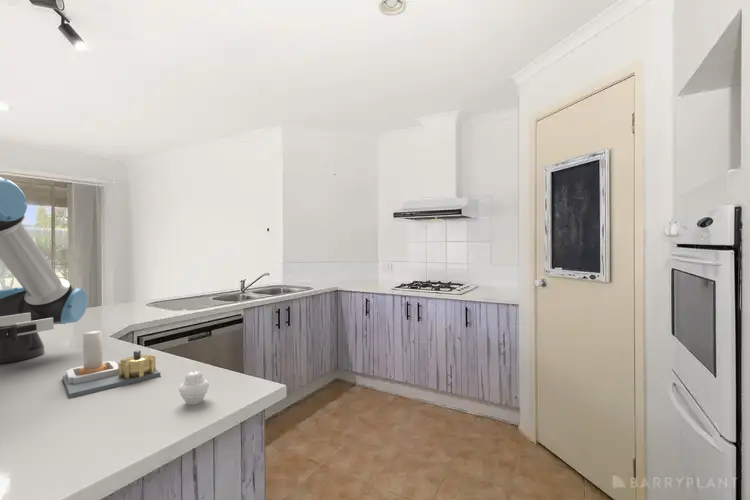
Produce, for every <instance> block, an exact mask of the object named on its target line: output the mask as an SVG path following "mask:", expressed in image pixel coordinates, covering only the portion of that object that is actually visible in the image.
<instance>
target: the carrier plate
mask: <svg viewBox="0 0 750 500" xmlns="http://www.w3.org/2000/svg"><path fill="white" fill-rule="evenodd" d="M102 364H105V365H106V366H107V370H104V371H100V372H95V373H90V374H85V375H81V376H79V369H80V368H83V367H84V365H81V366H77V367H72V368H71V367H70V368H68V370H65V374H63V375H62V382H63V383H64V386H65V388H66V391H67V394H68V397H69V398H70V399H71V398H75V397H79V396H83V395H87V394H92V393H97V392H99V391H104V390H107V389H109V390H110V389H113V388H116V387H120V386H125V385H129V384H132V383H138V382H142V381H145V380H149V379H153V378H154V379H155V378H158V377H161V371H159V370H158V369H157V368H156V369H155V370H154V372H153V373H151V374H148V375H145V376H142V377H137V378H129V379H125V378H121V377H120V378H119V370H118V363H117V362H116V360H113V361H112V360H107V361H102Z"/></svg>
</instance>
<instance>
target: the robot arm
mask: <svg viewBox="0 0 750 500" xmlns="http://www.w3.org/2000/svg"><path fill="white" fill-rule="evenodd" d="M26 202H27V198H26V196H25V194H24V192H23V191H22V189H21V188H20V187H19V186H18V185H17V184H16V183H14V182H13V181H12V180H10V179H7V178H5V177H1V176H0V260H1V262H2V263H3V264H4V266H6V268H7V269H8V270H9V272H10V273H11V274H12V276H13V277H14V278H15V280H17V282H18V283H19V285H20V287H15V288H8V289H6V288H5V289H0V365H1V364H6V363H15V362H19V361H24V360H29V359H32V358H37V357H39V356H41V355H43V354H44V353H45V345H44V342H43V340H42V339H41V337H40V335H39V333H40V332H41V333H42V332H44V331H45V332H46V331H51V330H55V328H54V325H66V324H73V323H76V322H78V321H80V320H81V319H82V318H83V317H84V315H85V313H86V311H87V308H88V302H89V301H88V300H89V299H88V294H87V292H86V290H85V289H83V288H79V287H77V288H73V287H72V285H71V284H70V282H69V281H68V279H67V280H66V279H65V278H59V276H58V275H57V273H56V272H55V270H54V269H53V267H52V266H51V265H50V263H49V261H48V260H47V258H46V257H45V255H44V254H43V253H42V251H41V250H40V248H39V246H38V244H37V243H36V242H35V240H34V239H33V237H32V236H31V235H30V233H29V232H28V230H27V229H26V227H25V226H24V224H23V221H25V214H26V212H27V208H28V205H27V203H26Z"/></svg>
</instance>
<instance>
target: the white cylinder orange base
mask: <svg viewBox="0 0 750 500" xmlns="http://www.w3.org/2000/svg"><path fill="white" fill-rule="evenodd" d="M102 334H103V333H102V330H93V331H87V332H86V331H85V332H84V333H82V349H83V352H82V353H83V366H84V367H83V368H80V369H79V376H81V375H85V374H90V373H95V372H100V371H104V370H107V366H106V365H105V364H102V362H103V342H102V341H103V340H102V339H103V335H102Z"/></svg>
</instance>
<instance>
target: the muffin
mask: <svg viewBox="0 0 750 500" xmlns="http://www.w3.org/2000/svg"><path fill="white" fill-rule="evenodd" d="M209 387H210V382H209V381H208V380H207V379H205V377H204V376H203V373H202V372H201V371H191V372H189V373H187V374H186V375H185V377H184V380H183V381H182V383H181V384H180V385H179V387H178V391H179V393H180V396H181V398H182V399H183V400H184V402H185V404H186V405H188V406H193V405H198V404H201V403H202V402H203V400H204V399H205V396H206V394H207V393H208V389H209Z"/></svg>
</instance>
